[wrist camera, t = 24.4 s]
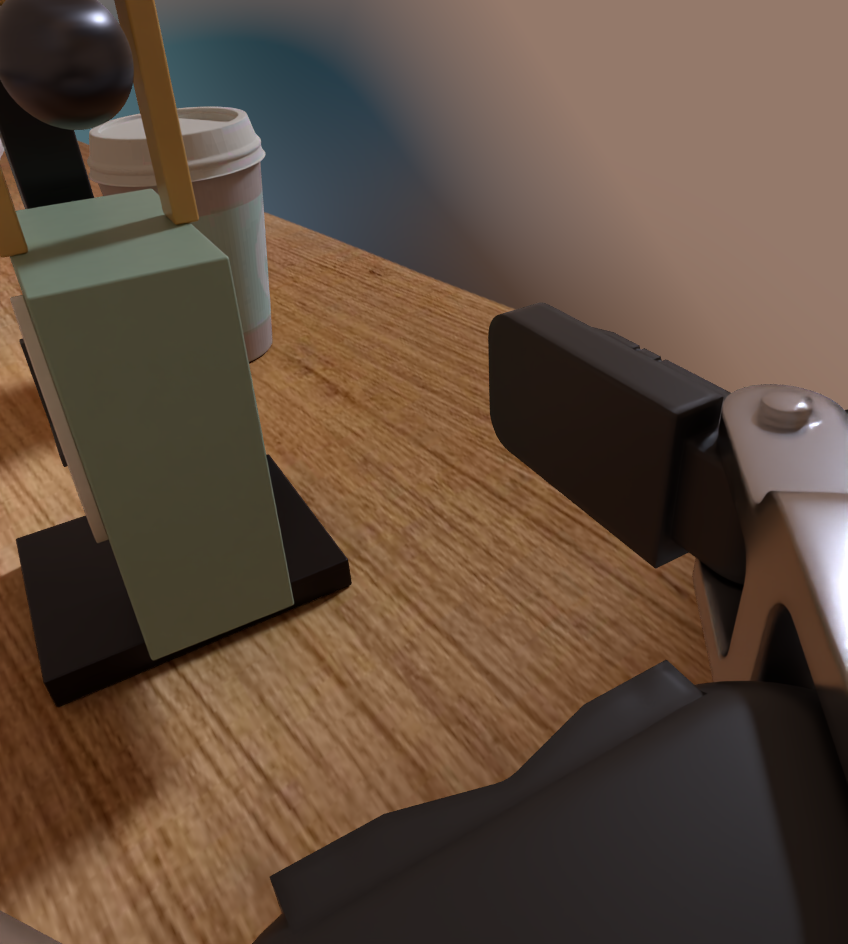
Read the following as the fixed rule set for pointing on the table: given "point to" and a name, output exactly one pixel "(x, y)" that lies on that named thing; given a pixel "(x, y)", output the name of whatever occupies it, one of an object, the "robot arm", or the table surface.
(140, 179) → the coffee cup
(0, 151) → the bowl
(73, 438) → the green box with handle
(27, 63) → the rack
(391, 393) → the table surface
